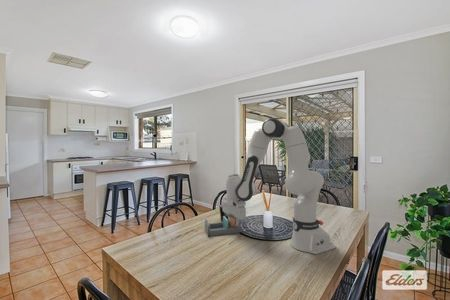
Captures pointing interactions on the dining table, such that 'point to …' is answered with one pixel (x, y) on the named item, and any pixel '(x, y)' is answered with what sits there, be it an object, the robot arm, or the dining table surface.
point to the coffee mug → (222, 213)
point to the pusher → (225, 222)
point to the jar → (231, 221)
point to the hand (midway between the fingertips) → (233, 222)
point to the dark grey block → (219, 229)
